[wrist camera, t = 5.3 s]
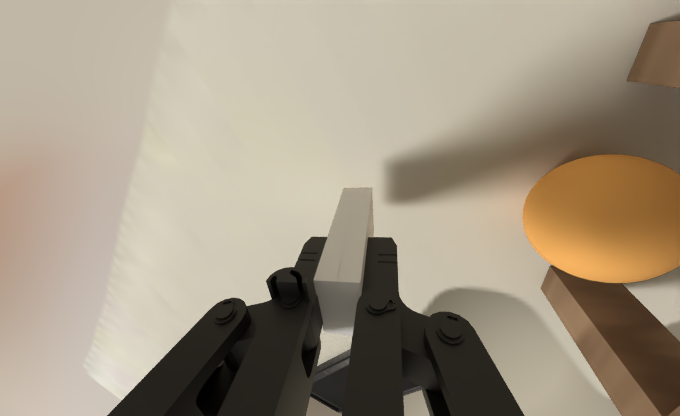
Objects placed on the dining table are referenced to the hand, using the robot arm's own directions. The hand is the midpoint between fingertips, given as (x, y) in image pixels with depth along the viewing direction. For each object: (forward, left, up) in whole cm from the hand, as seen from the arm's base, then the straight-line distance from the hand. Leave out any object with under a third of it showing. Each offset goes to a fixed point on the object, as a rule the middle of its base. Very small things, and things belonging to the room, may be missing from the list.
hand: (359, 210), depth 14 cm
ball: (-11, 0, +1) cm, 11 cm away
